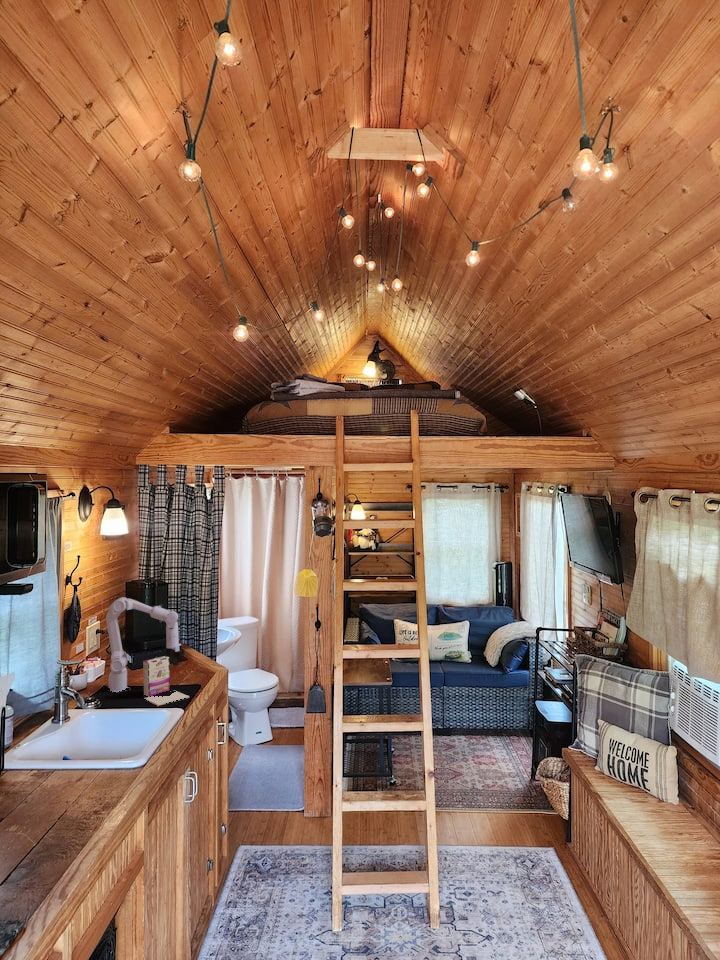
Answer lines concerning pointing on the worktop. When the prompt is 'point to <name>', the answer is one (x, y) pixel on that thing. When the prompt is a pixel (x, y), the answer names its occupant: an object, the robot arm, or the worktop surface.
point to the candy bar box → (156, 676)
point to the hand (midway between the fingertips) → (173, 664)
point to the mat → (166, 698)
